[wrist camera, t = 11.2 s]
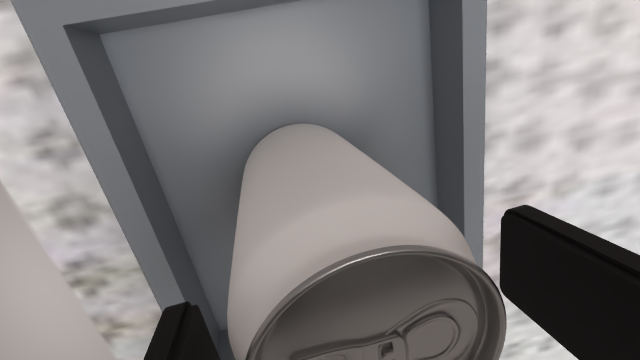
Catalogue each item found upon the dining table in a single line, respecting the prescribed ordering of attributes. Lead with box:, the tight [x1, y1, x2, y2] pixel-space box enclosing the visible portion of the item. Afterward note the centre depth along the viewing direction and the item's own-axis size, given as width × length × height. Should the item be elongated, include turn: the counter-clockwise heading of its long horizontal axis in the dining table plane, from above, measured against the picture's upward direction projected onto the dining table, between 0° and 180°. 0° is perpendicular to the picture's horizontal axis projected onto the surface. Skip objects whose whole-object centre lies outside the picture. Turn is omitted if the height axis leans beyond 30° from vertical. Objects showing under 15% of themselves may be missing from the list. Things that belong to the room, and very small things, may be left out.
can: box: [227, 123, 506, 360], centre depth 12 cm, size 6×6×12 cm
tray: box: [11, 0, 487, 360], centre depth 16 cm, size 20×18×4 cm
